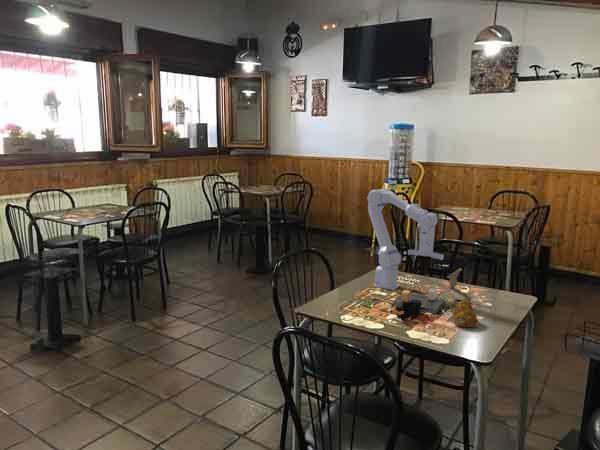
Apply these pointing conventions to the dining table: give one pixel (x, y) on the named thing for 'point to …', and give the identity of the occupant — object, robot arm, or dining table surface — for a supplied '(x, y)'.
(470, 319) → the rock
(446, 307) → the dining table surface
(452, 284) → the jawbone
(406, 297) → the fader orange
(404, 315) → the toy
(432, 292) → the block
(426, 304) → the panel
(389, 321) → the dining table surface
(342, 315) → the dining table surface
